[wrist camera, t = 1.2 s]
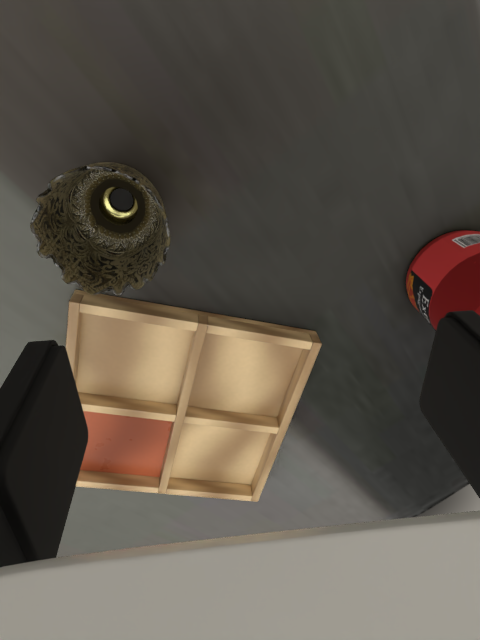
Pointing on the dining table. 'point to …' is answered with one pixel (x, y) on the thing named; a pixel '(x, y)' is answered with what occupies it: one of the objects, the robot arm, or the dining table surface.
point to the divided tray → (182, 395)
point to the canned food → (446, 276)
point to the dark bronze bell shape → (102, 228)
